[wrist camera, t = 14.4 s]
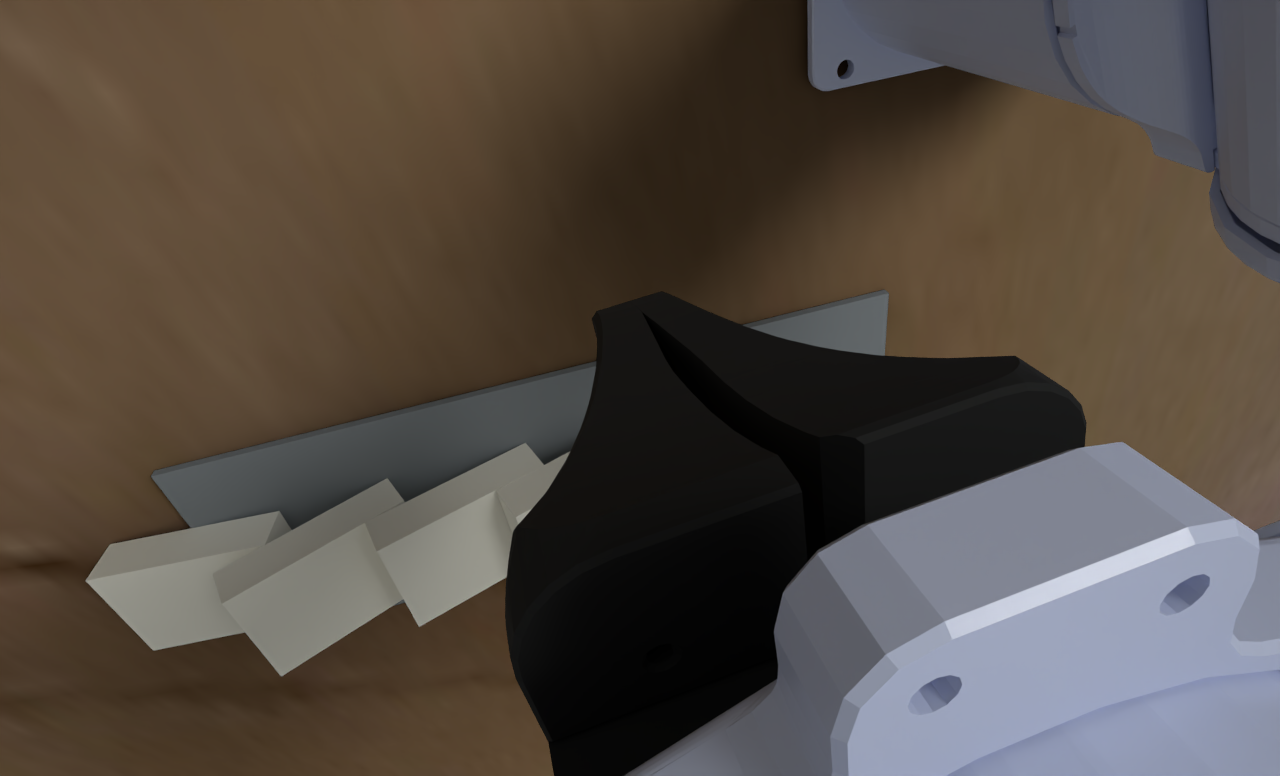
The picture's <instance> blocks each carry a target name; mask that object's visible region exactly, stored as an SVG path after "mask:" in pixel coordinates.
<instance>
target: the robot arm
mask: <svg viewBox="0 0 1280 776" xmlns="http://www.w3.org/2000/svg"><path fill="white" fill-rule="evenodd" d="M807 12H808V77H809V81H810V83H811V84H812V86H813V87H815V88H817V89H819V90H821V91H831V90H835V89H840V88H845V87H849V86H854V85H858V84H863V83H867V82H872V81H876V80H881V79H886V78H890V77H895V76H899V75H904V74H908V73H913V72H917V71H922V70H927V69H931V68H936V67H940V66H945V65H946V66H949V67H953V68H956V69H959V70H963V71H966V72H970V73H973V74H976V75H980V76H983V77H987V78H990V79H994V80H997V81H1000V82H1004V83H1007V84H1011V85H1014V86H1017V87H1021V88H1024V89H1028V90H1031V91H1034V92H1038V93H1041V94H1045V95H1048V96H1052V97H1055V98H1058V99H1062V100H1065V101H1069V102H1072V103H1075V104H1079V105H1082V106H1086V107H1089V108H1092V109H1096V110H1099V111H1103V112H1106V113H1110V114H1113V115H1117V116H1122V117H1124V118H1127V119H1129V120H1131V121H1133V122H1135V123H1137V124H1139V125H1140V126H1141V127H1142V128H1143V129H1144V130H1145V131H1146V133H1147V134H1148V136H1149V138H1150V140H1151V143H1152V147H1153V151H1154V154H1155V155H1157V156H1160V157H1163V158H1166V159H1169V160H1172V161H1175V162H1177V163H1180V164H1183V165H1186V166H1189V167H1192V168H1195V169H1198V170H1201V171H1204V172H1207V173H1208V172H1212V171H1214V170H1215V173H1214V176H1213V180H1212V184H1211V188H1210V192H1209V196H1210V208H1211V213H1212V218H1213V222H1214V226H1215V228H1216V230H1217V232H1218V233H1219V235H1220V237H1221V238H1222V240H1223V241H1224V243H1225V245H1226V246H1227V248H1228V249H1229V250H1230V251H1231V252H1232V253H1233V254H1235V255H1236V256H1237V257H1238V258H1239V259H1240V260H1241V261H1242V262H1243V263H1244V264H1246V265H1247V266H1249V267H1251V268H1252V269H1254V270H1255V271H1257V272H1259V273H1260V274H1262V275H1264V276H1265V277H1267V278H1269V279H1271V280H1273V281H1276V282H1278V283H1280V0H807ZM844 60H847V62H848V68H847V71H846V72H845V74H844V75H842V76H840V77H838V74H837V69H838V66H839V64H840V63H841V62H842V61H844ZM1215 167H1216V169H1215ZM592 321H593V325H594V329H595V333H596V336H597V360H596V370H595V376H594V381H593V387H592V392H591V396H590V400H589V404H588V408H587V411H586V414H585V417H584V420H583V423H582V426H581V428H580V431H579V433H578V435H577V438H576V440H575V442H574V445H573V447H572V449H571V451H570V453H569V455H568V457H567V459H566V461H565V463H564V464H563V466H562V468H561V469H560V471H559V472H558V474H557V476H556V477H555V479H554V480H553V482H552V484H551V485H550V487H549V488H548V490H547V491H546V493H545V494H544V495H543V496H542V498H541V499H540V500H539V501H538V502H537V504H536V505H535V506H534V507H533V508H532V509H531V511H530V512H529V513H528V514H527V515H526V516H525V518H524V519H523V520H522V521H521V522H520V523H519V524H518V525H517V526H516V528H515V529H514V531H513V535H512V540H511V547H510V553H509V560H508V569H507V578H506V597H505V619H506V630H507V637H508V644H509V651H510V658H511V662H512V666H513V669H514V673H515V677H516V680H517V682H518V684H519V686H520V688H521V690H522V691H523V693H524V695H525V697H526V699H527V701H528V703H529V705H530V707H531V709H532V711H533V713H534V715H535V717H536V719H537V721H538V723H539V725H540V727H541V729H542V730H543V732H544V734H545V736H546V738H547V740H548V742H549V748H550V754H551V760H552V766H553V771H554V776H1280V520H1279V521H1277V522H1274V523H1272V524H1269V525H1266V526H1264V527H1261V528H1259V529H1256V530H1254V531H1253V530H1251V529H1250V528H1248V527H1247V526H1245V525H1244V524H1242V523H1241V522H1240V521H1238V520H1237V519H1235V518H1234V517H1232V516H1231V515H1229V514H1228V513H1226V512H1225V511H1223V510H1222V509H1220V508H1219V507H1217V506H1216V505H1215V504H1213V503H1212V502H1210V501H1209V500H1207V499H1206V498H1204V497H1203V496H1201V495H1200V494H1198V493H1197V492H1195V491H1194V490H1192V489H1191V488H1189V487H1188V486H1187V485H1185V484H1184V483H1182V482H1181V481H1179V480H1178V479H1176V478H1175V477H1173V476H1172V475H1170V474H1169V473H1167V472H1166V471H1164V470H1163V469H1162V468H1160V467H1159V466H1157V465H1156V464H1154V463H1153V462H1151V461H1150V460H1148V459H1147V458H1145V457H1144V456H1142V455H1141V454H1139V453H1138V452H1137V451H1135V450H1134V449H1132V448H1131V447H1129V446H1128V445H1126V444H1125V443H1123V442H1118V443H1111V444H1104V445H1097V446H1089V447H1084V446H1085V434H1086V420H1085V416H1084V413H1083V409H1082V406H1081V404H1080V403H1079V402H1078V401H1077V400H1076V398H1075V397H1074V396H1073V395H1072V394H1071V393H1070V392H1069V391H1068V390H1067V389H1065V388H1064V387H1062V386H1061V385H1059V384H1057V383H1056V382H1054V381H1053V380H1051V379H1050V378H1048V377H1047V376H1045V375H1044V374H1042V373H1041V372H1039V371H1038V370H1036V369H1035V368H1033V367H1032V366H1030V365H1029V364H1027V363H1026V362H1024V361H1022V360H1021V359H1019V358H1018V357H1016V356H997V357H969V358H917V357H895V356H882V355H872V354H864V353H856V352H848V351H840V350H834V349H829V348H823V347H818V346H813V345H809V344H805V343H800V342H796V341H791V340H787V339H784V338H780V337H776V336H773V335H770V334H767V333H764V332H761V331H758V330H755V329H752V328H749V327H746V326H743V325H740V324H738V323H735V322H732V321H730V320H727V319H725V318H722V317H720V316H717V315H715V314H713V313H710V312H708V311H706V310H703V309H701V308H699V307H697V306H694V305H692V304H690V303H688V302H686V301H683V300H681V299H679V298H677V297H674V296H672V295H670V294H667V293H665V292H662V291H661V292H658V293H654V294H651V295H648V296H645V297H641V298H638V299H635V300H632V301H628V302H625V303H622V304H619V305H615V306H612V307H609V308H606V309H602V310H599V311H596V313H595V315H594V316H593V318H592Z"/></svg>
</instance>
